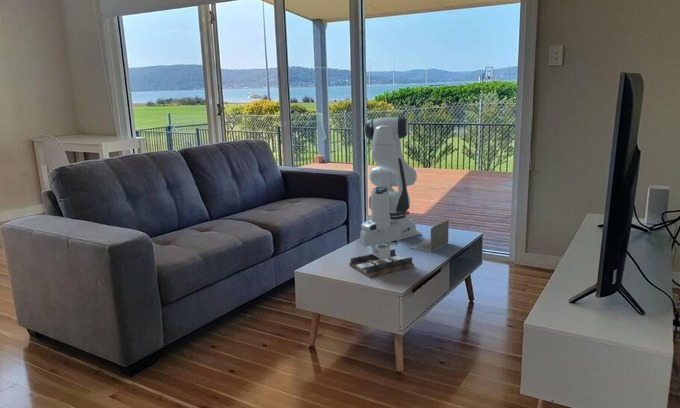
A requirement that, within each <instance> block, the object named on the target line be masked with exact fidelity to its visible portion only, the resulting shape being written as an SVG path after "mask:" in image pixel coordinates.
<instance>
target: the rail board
mask: <svg viewBox="0 0 680 408" xmlns="http://www.w3.org/2000/svg"><path fill="white" fill-rule="evenodd" d="M348 264H349V266H350V267H352V268H353V269H354V270H357V272H360V273H362V274H363V276H364V275H365V276H366V277H368V278H372V277H376V276H377V277H378V276H381V275H385V274H390V273H394V272H398V271H402V270H406V269H407V270H408V269H411V268H414V267H415V263H413V257H412V256H410V257H404V256H402V255H397V254H396V249H395V248H394V249H390V258H388V259H383V260H381V259H380V258H378V257H376V256H374V255H373V254H372V253H370V254H365V255H364V254H363V255H360V256H355V257H351V258H350V262H349V263H348Z"/></svg>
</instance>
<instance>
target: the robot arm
mask: <svg viewBox="0 0 680 408" xmlns="http://www.w3.org/2000/svg"><path fill="white" fill-rule="evenodd" d="M409 125H410V124H409V123H408V119H406V118H405V117H402V116H399V117H395V116H392V117H391V116H387V117H380V118H379V117H378V118H370V119H367V120H366V121H365V124H364V127H363V129H364V130H363V131H364V135H365V137H366V138H367V139H368V140H372V143H371V158H372V160H373V161H374V164H376V165H377V166H375V167H372V169H371V170H370V171H369V175H368V176H369V181H370V182H371V184H372V185H373V186H375V187H373V189H372V190H371V192H370V193H371V194H370V196H369V198H368V203H369V204H368V205H369V206H368V207H369V209H370V211H371V214H370V219H368V220H366V221H364V222H363V223H361V224H360V225H361V230H360V235H359V243H360V245H361V246H362V247H369V246H370V247H371V249H373V253H374V254H376V253H378V250H377V249H375V247H376V244H381V243H382V244H385V243H386V244H385V245H386V246H388V247H390V246H391V245H392V242H395V241H400V240H405V239H409V238H412V237H415V236H418V235H421V231H420V230H418V229H417V225H416V223H415V222H414V221H413V220H412V219H410V218H409V217H407V216H409V215H410V211H409V209H410V205H411V199H410V195H409V193H408V188H407V187H410V186H413V185H414V184H415V183H416V182H417V179H418V176H417V171H416V170H415V168H414V167H413V166H410V165H409V164H408V163H407V162H406V160H405V158H404V156H403V151H402V143H401V139H404V138H406V137H407V136H408V133H409V131H410V126H409ZM393 187H397V188H398V189H397V191H396V190H395V189H394V188H393ZM390 248H391V247H390Z"/></svg>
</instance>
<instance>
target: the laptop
mask: <svg viewBox="0 0 680 408" xmlns="http://www.w3.org/2000/svg"><path fill="white" fill-rule="evenodd" d="M449 221H450V220H448V219H447V220H445V221H443V222H441V223H439V224H436V225H434V226H432V227H431V228H430V238H426V239H424V240H422V241H421V242H418V243H416V244H414V245H412V246H410V247H409V248H410V249H414V250H417V251H422V252H426V253H433V252H434V251H437V250H439V249H440V248H442V247H444V246H446V245H448V244H449V225H450V224H449Z"/></svg>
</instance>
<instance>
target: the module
mask: <svg viewBox="0 0 680 408" xmlns="http://www.w3.org/2000/svg"><path fill="white" fill-rule="evenodd" d="M386 245H387V244H385V243H381V244H376V247H375V249H377V250H378V253H376V254H374V253H373V249H372V248H371V249H372V250H371V251H372V252H371V254H373V255H374V256H376V257H378V258H380V259H381V260H383V259H388V258H390V250H391V247H388V246H386Z"/></svg>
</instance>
